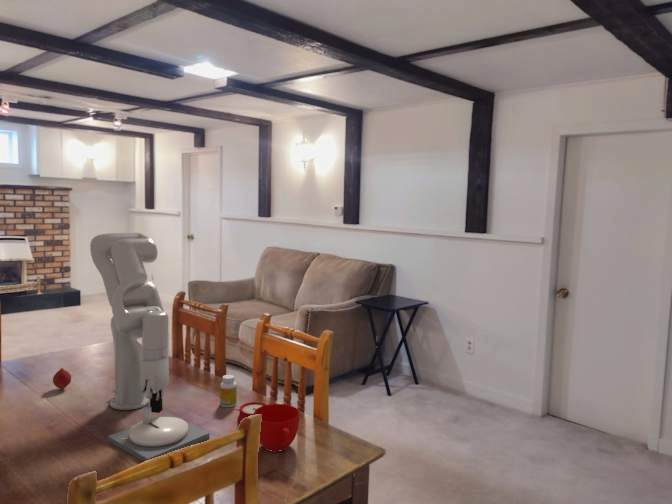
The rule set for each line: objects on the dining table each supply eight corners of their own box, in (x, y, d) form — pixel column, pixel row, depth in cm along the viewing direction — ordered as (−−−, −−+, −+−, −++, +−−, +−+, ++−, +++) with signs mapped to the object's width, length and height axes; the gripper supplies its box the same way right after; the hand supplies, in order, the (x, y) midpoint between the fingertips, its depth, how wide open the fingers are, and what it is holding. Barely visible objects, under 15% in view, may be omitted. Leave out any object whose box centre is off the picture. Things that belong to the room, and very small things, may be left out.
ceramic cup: (263, 468, 137) (264, 431, 136) (247, 440, 152) (248, 407, 151) (310, 459, 142) (311, 424, 141) (290, 433, 158) (291, 401, 157)
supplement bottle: (232, 408, 175) (232, 380, 174) (217, 406, 176) (217, 378, 175) (238, 402, 180) (239, 374, 179) (224, 400, 181) (224, 373, 180)
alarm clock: (253, 399, 174) (284, 401, 165) (255, 418, 174) (287, 421, 165) (228, 408, 166) (260, 411, 157) (231, 428, 166) (263, 432, 157)
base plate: (107, 441, 150) (107, 435, 150) (168, 418, 165) (168, 413, 165) (147, 464, 138) (147, 458, 137) (209, 437, 153) (209, 432, 153)
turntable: (118, 434, 150) (117, 414, 149) (166, 417, 162) (166, 398, 162) (150, 452, 140) (150, 430, 139) (199, 432, 153) (199, 412, 152)
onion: (49, 390, 186) (48, 368, 185) (63, 385, 191) (62, 364, 190) (61, 393, 184) (60, 371, 183) (75, 388, 189) (74, 366, 188)
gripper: (155, 345, 166) (156, 401, 168) (131, 359, 151) (132, 420, 153) (178, 346, 165) (178, 403, 167) (155, 360, 150) (156, 422, 152)
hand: (156, 411), depth 160 cm, fingers closed
